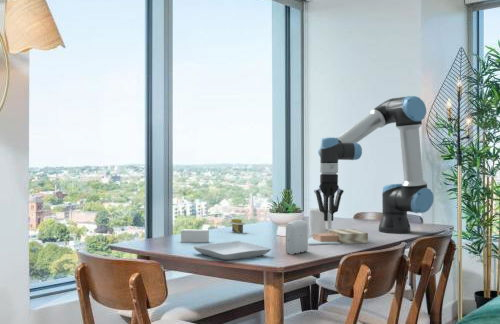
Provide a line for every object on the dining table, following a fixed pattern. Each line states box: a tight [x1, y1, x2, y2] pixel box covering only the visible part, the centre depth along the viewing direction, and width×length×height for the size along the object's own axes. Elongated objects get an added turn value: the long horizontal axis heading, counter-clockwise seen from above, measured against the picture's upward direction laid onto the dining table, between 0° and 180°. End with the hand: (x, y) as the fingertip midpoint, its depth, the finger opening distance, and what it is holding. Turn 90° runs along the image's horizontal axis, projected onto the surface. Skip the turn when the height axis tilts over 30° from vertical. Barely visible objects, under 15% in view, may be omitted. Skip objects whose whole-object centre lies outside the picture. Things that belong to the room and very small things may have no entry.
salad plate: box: [193, 240, 272, 261], centre depth 207 cm, size 21×21×3 cm
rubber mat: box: [308, 237, 341, 246], centre depth 242 cm, size 14×16×1 cm
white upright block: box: [285, 219, 309, 255], centre depth 214 cm, size 10×4×12 cm, turn 140°
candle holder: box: [308, 208, 330, 237], centre depth 261 cm, size 10×10×12 cm
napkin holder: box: [180, 228, 210, 243], centre depth 240 cm, size 15×11×6 cm
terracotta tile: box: [312, 233, 338, 242], centre depth 243 cm, size 8×8×2 cm
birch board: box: [328, 228, 369, 245], centre depth 245 cm, size 12×14×4 cm
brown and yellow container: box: [228, 218, 246, 234], centre depth 270 cm, size 12×18×7 cm, turn 40°
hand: (328, 228), depth 243 cm, fingers closed
